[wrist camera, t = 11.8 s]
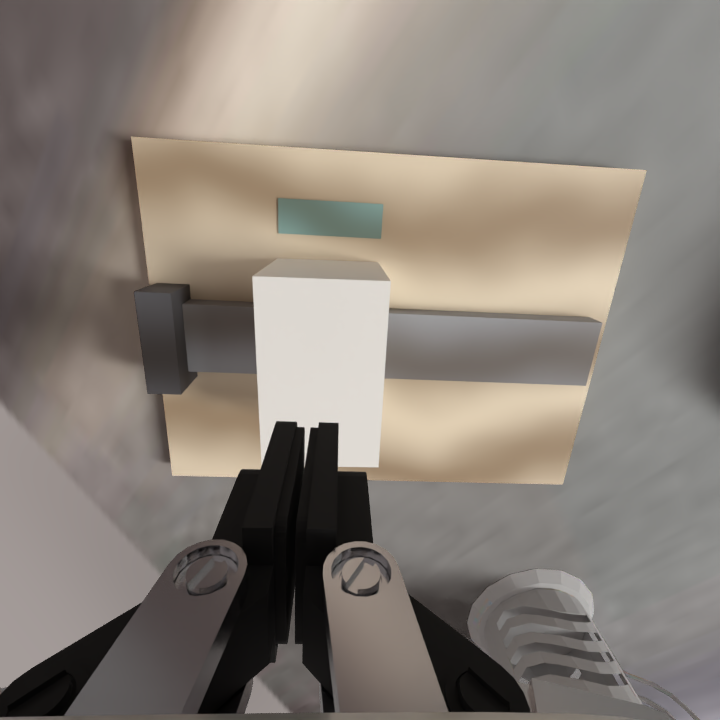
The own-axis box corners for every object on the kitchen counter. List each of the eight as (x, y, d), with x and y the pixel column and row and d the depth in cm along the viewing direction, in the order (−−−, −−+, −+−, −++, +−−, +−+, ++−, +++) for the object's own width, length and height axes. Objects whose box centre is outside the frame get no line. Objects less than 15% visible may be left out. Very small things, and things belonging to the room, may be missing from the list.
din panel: (143, 140, 19) (101, 126, 16) (630, 172, 21) (686, 164, 17) (180, 463, 25) (154, 502, 22) (553, 472, 27) (583, 510, 23)
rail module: (277, 258, 20) (252, 276, 15) (378, 262, 20) (390, 281, 15) (282, 413, 23) (262, 477, 18) (369, 414, 23) (377, 479, 18)
